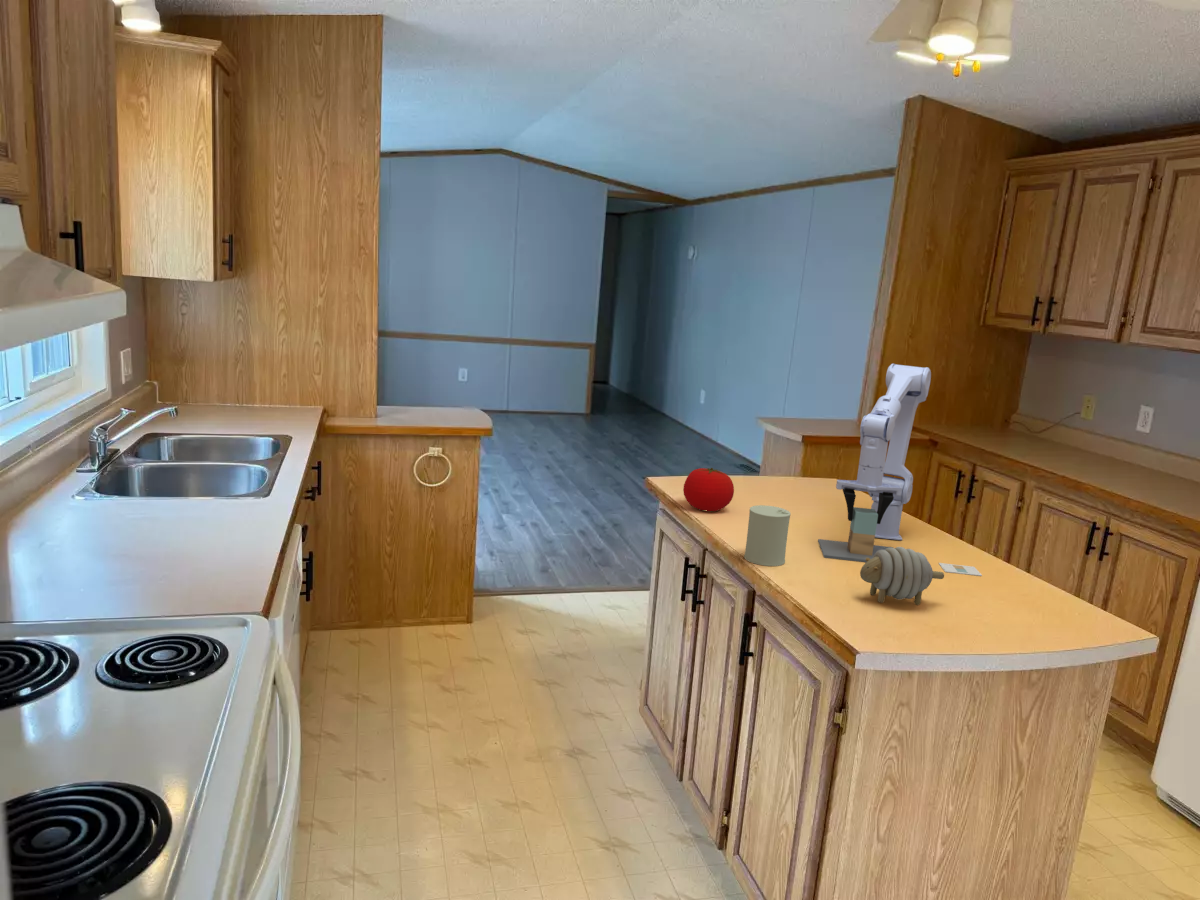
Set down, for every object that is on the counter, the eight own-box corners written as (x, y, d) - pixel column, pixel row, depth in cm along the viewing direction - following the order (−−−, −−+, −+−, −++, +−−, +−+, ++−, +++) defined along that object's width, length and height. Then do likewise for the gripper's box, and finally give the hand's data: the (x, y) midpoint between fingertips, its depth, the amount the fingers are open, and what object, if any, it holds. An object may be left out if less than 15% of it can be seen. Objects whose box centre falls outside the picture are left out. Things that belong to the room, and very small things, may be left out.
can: (785, 568, 184) (791, 516, 182) (743, 563, 186) (749, 511, 183) (784, 556, 193) (790, 506, 191) (744, 550, 195) (750, 501, 192)
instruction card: (938, 563, 196) (938, 562, 196) (974, 567, 195) (974, 566, 195) (945, 571, 190) (945, 570, 190) (981, 576, 189) (981, 575, 189)
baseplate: (817, 541, 206) (818, 538, 206) (892, 549, 204) (893, 547, 204) (823, 557, 194) (824, 555, 194) (903, 566, 191) (904, 564, 191)
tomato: (673, 504, 232) (677, 463, 229) (714, 501, 238) (719, 462, 235) (697, 517, 220) (701, 474, 218) (740, 514, 226) (744, 472, 224)
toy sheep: (847, 589, 174) (854, 538, 172) (924, 591, 176) (932, 541, 174) (868, 608, 164) (876, 555, 161) (949, 611, 165) (958, 558, 163)
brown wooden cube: (847, 546, 201) (850, 527, 200) (868, 549, 201) (871, 529, 200) (850, 553, 197) (853, 532, 196) (872, 555, 196) (875, 535, 195)
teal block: (850, 526, 200) (852, 506, 200) (871, 529, 200) (874, 509, 199) (853, 532, 196) (856, 512, 195) (875, 535, 195) (878, 514, 194)
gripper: (842, 465, 192) (834, 522, 194) (907, 472, 190) (898, 529, 193) (838, 459, 199) (830, 514, 201) (901, 465, 197) (892, 521, 199)
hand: (863, 521), depth 197 cm, fingers open, 6 cm apart
